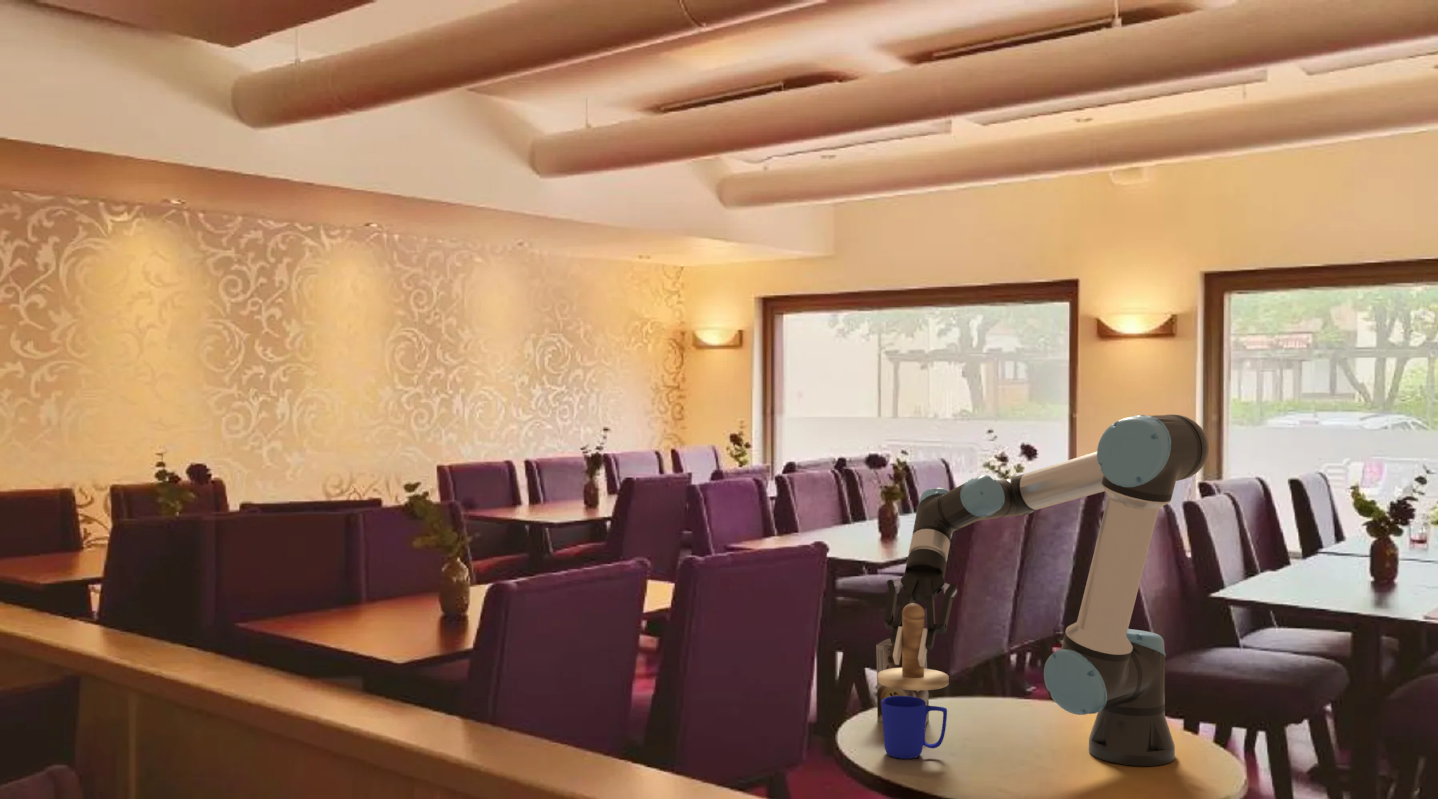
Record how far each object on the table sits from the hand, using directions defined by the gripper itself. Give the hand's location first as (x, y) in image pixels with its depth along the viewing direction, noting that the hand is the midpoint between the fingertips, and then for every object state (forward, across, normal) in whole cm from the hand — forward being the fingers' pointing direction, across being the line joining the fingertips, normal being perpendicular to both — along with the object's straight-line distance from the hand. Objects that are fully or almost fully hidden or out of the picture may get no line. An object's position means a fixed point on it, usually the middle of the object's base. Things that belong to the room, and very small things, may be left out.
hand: (908, 661), depth 224 cm
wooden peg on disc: (+1, 0, -6) cm, 6 cm away
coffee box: (-5, +7, -31) cm, 32 cm away
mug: (+11, 0, -16) cm, 19 cm away
